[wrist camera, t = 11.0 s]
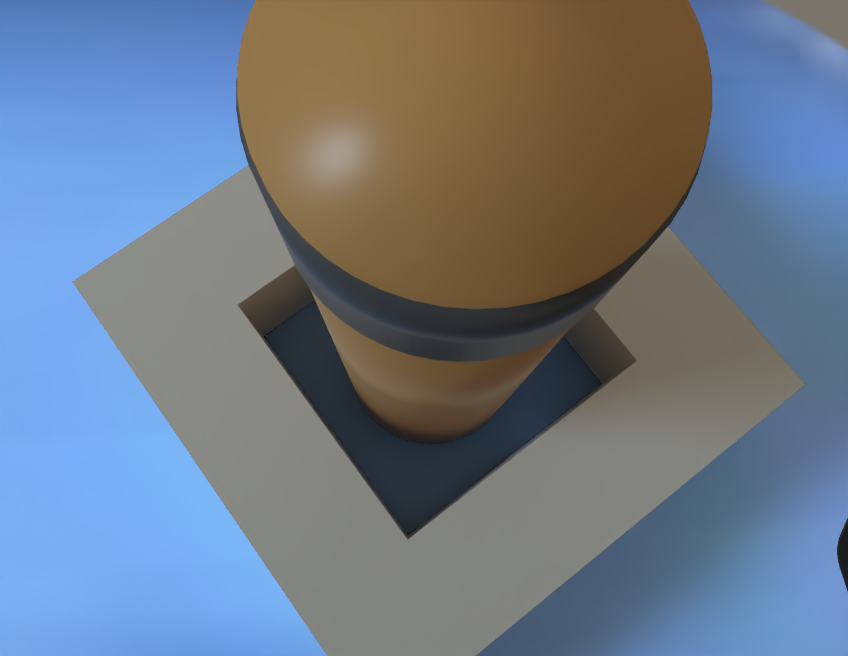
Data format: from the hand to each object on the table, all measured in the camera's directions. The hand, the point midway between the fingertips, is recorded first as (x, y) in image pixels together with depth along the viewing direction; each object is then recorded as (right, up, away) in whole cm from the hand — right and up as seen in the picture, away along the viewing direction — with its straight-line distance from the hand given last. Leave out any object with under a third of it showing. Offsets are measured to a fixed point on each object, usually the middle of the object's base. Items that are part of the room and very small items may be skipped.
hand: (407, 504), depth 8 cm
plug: (0, +1, +11) cm, 11 cm away
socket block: (0, +1, +11) cm, 11 cm away
